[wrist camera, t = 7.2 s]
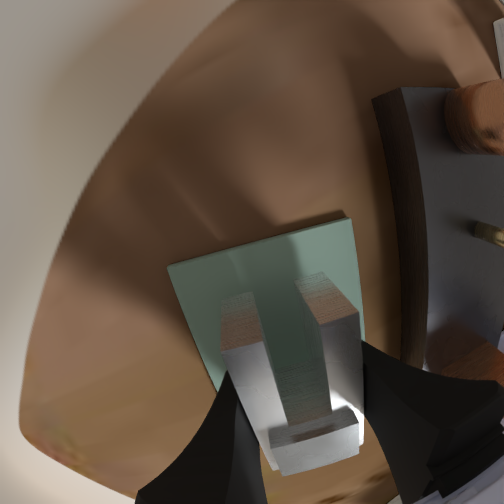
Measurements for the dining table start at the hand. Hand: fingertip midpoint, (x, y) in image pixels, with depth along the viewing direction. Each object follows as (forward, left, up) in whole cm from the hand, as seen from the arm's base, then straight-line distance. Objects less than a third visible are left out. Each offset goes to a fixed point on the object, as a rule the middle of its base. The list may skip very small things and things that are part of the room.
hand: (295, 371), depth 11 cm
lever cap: (0, 0, -1) cm, 1 cm away
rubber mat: (0, 0, -3) cm, 3 cm away
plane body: (+2, -10, -3) cm, 11 cm away
